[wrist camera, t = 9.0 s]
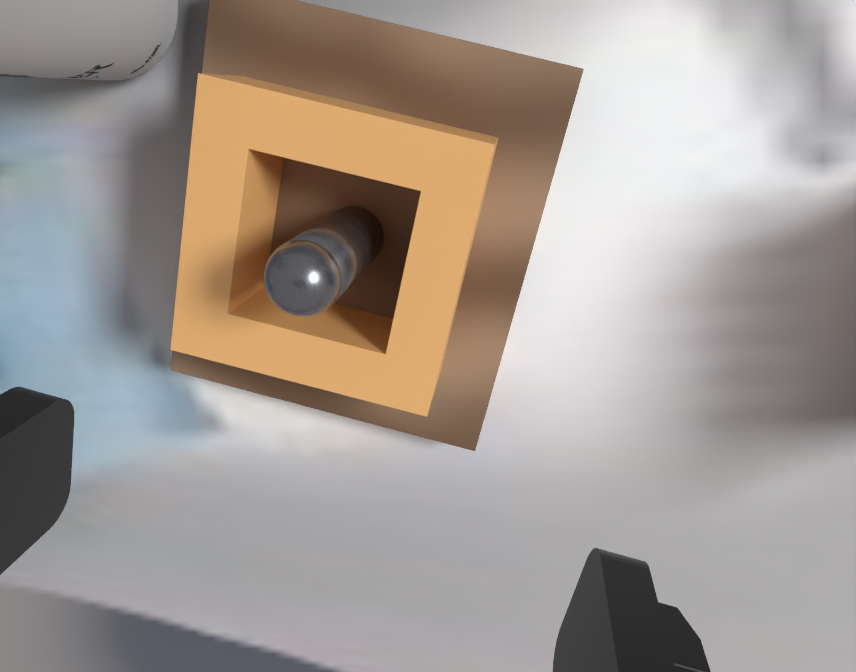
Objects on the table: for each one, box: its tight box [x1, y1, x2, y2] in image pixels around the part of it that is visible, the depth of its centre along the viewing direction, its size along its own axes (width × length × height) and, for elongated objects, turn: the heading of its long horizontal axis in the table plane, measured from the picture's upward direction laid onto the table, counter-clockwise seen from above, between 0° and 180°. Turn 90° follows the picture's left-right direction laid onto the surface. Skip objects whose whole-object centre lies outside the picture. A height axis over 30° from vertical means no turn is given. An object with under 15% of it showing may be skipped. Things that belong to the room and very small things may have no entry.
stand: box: [171, 0, 583, 451], centre depth 25 cm, size 16×14×10 cm
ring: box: [170, 73, 498, 417], centre depth 26 cm, size 10×10×4 cm
